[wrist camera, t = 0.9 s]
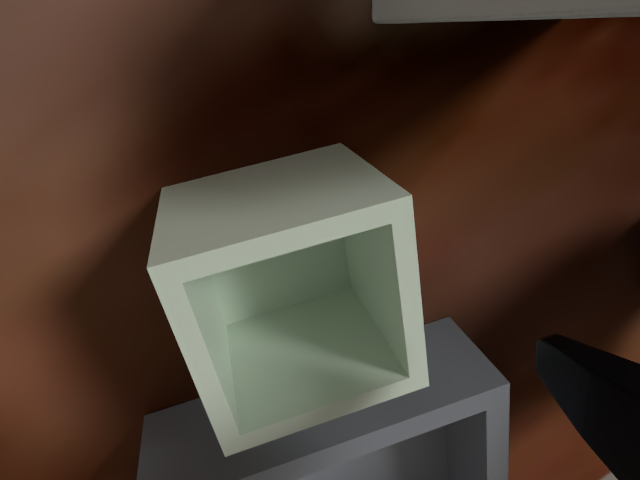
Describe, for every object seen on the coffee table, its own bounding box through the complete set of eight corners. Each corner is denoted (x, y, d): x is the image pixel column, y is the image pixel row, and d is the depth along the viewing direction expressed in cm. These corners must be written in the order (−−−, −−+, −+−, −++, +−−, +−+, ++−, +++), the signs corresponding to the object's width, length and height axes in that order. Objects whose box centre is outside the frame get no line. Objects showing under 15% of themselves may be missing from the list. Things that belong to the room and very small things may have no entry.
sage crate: (339, 142, 16) (411, 195, 11) (363, 288, 19) (429, 386, 14) (161, 186, 15) (146, 268, 10) (215, 333, 18) (224, 456, 13)
